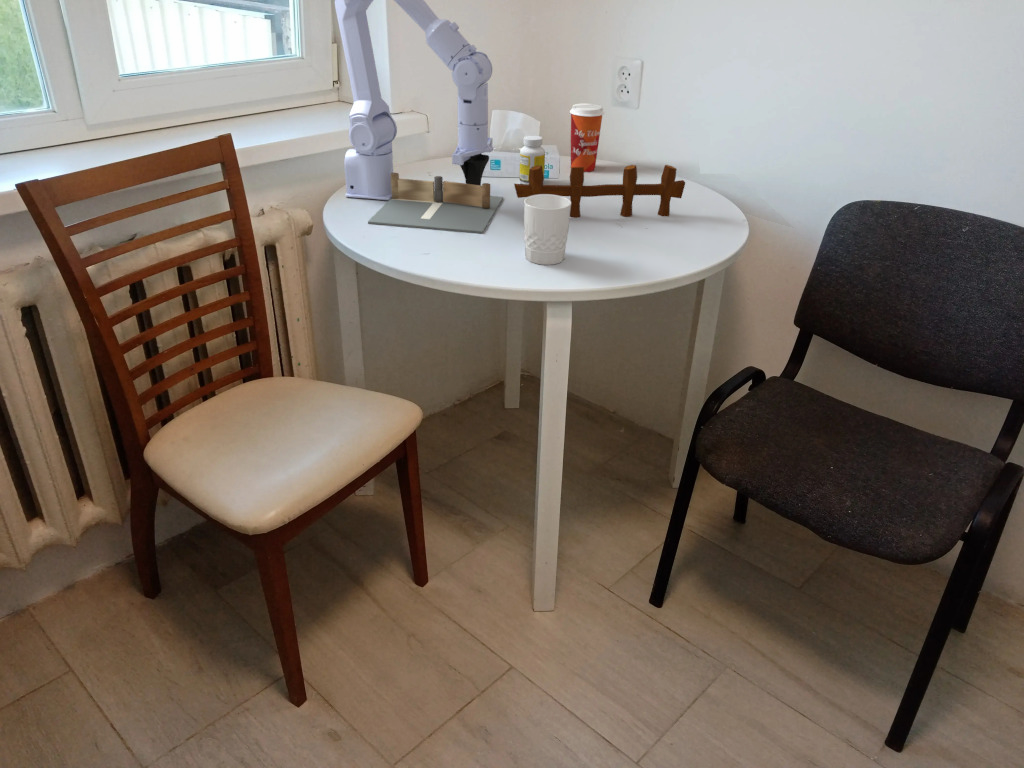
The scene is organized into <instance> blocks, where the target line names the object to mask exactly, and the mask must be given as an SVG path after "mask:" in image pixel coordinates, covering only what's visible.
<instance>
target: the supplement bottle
mask: <svg viewBox="0 0 1024 768" xmlns="http://www.w3.org/2000/svg"><path fill="white" fill-rule="evenodd" d="M523 144H524V145H523V146H522V147H521V148H520V150H519V151H520V152H519V184H528V185H529V169H530V168H531V167H534V166H537V165H539V166H542V169H543V176H544V177H545V167H546V166H545V163H546V160H545V159H546V151H545V148H544V147H542V145H543V137H542V136H539V135H525V136H524V137H523ZM544 182H545V179H544V180H543V184H544Z"/></svg>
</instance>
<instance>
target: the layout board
mask: <svg viewBox="0 0 1024 768" xmlns="http://www.w3.org/2000/svg"><path fill="white" fill-rule="evenodd" d="M434 195H435V190H434ZM503 199H504V196H497V195H490V208H487V209H485V208H482V207H479V206H472V205H464V204H457V203H449V202H442V203H436V202H435V201H434V202H430V201H418V200H405V199H392V198H391V199H390V200H387V202H385V204H384V205H382V207H381V208H379V210H378V211H376V212H375V214H373V216H371V218H369V219H368V220H367V224H369V225H370V224H372V225H379V226H380V225H382V226H391V227H392V226H393V227H404V228H414V229H415V228H416V229H424V230H425V229H427V230H439V231H449V232H459V233H471V234H472V233H473V234H481V235H482V234H483V233H484V232H485V231H486V228H487V227H488V226H489V223H490V222H491V220H492V219H493V217H494V215H495V213H496V212H497V209H498V208H499V206H500V205H501V203H502V202H503Z"/></svg>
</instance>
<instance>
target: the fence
mask: <svg viewBox="0 0 1024 768" xmlns="http://www.w3.org/2000/svg"><path fill="white" fill-rule="evenodd" d="M637 168H638V167H637V165H635V164H630V165H627V166H625V167H624V169H623V173H622V183H621V184H620V183H616V184H611V183H610V184H608V183H607V184H595V185H584V182H585V172H584V167H571V166H570V174H569V184H564V185H563V184H544V183H543V180H544V181H545V175H544V176H543V169H542V166H539V165H537V166H534V167H531V168H530V169H529V185H528V184H521V183H513V185H514V189H515V193H516V197H517V198H518V199H520V198H521V199H522V198H527V197H529V196H532V195H539V194H551V195H558V196H562V197H569V198H570V199H569V200H570V201H571V210H570V218H574V219H577V218H580V217H581V200H582V199H581V198H583V197H584V198H585V197H587V198H588V197H589V198H591V197H592V198H593V197H604V196H609V197H610V196H622V203H621V204H622V205H621V208H620V216H621V217H623V218H631V217H632V216H633V200H634V196H660V201H659V202H660V203H659V208H658V210H657V211H658V212H657V216H660V217H669V216H670V214H671V213H670V212H671V209H670V208H671V200H672V199H671V198H676V199H682V197H683V193H684V189H685V185H686V181H684V180H683V179H682V180H676V178H677V177H676V176H677V168H676V167H674V166H673V165H669V164H665V165H664V167H663V171H662V174H661V177H660V183H638V182H637V181H638V169H637Z"/></svg>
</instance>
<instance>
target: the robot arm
mask: <svg viewBox="0 0 1024 768" xmlns="http://www.w3.org/2000/svg"><path fill="white" fill-rule="evenodd" d="M373 2H374V0H334V8H335V13H336V18H337V22H338V28H339V33H340V38H341V43H342V48H343V53H344V58H345V62H346V68H347V73H348V79H349V84H350V89H351V94H352V99H353V104H352V107H351V109H350V112H349V116H348V117H349V128H348V129H349V130H348V139H349V142H350V144H351V146H352V147H353V148H349V149H347V151H346V153H345V156H344V161H343V162H344V164H343V165H344V166H343V167H344V178H345V191H346V193H345V197H346V198H358V199H368V200H369V199H371V200H380V201H381V200H382V201H389V200H390V199H391V198H392V190H391V173H394V157H393V156H394V155H393V142H394V140H395V139H396V136H397V133H398V126H397V123H396V120H395V119H394V118H393V116H392V113H391V112H390V106H389V104H388V103H387V102H386V101H385V100H384V99H383V97H382V94H381V87H380V82H379V77H378V72H377V66H376V61H375V56H374V55H375V54H374V49H373V45H372V39H371V34H370V33H371V31H370V28H369V27H370V26H369V21H368V17H367V10H368V9H369V7H370V6H371V4H372V3H373ZM393 2H395V4H397V5H398V6H399V7H400V8H401V9H402V10H403V11H404V12H405V13H406V15H408V16H409V17H410V19H412V20H413V22H414V23H416V24H417V25H418V26H419V27H420V29H422V30H423V31H424V32H425V43H426V45H427V46H428V47H429V48H430V49H431V50H432V51H433V53H435V55H437V57H438V58H439V59H440V60H441V61H442V62H443V64H444V65H445V66H446V67H447V68H448V69H449V70H450V71H452V72H451V77H452V78H451V79H452V80H453V82H454V84H455V86H456V87H457V146H456V147H455V150H454V152H453V153H452V154H451V163H452V165H455V166H459V167H460V169H461V170H462V173H463V175H464V179H465V184H473V185H481V186H482V177H483V176H484V175H483V174H484V172H485V169H486V166H487V164H488V163H489V160H490V156H489V154H488V155H487V154H484V153H491V152H493V151H494V146H493V137H489V89H488V88H489V84H488V81H489V80H490V79H491V77H492V76H493V65H492V62H491V60H490V59H489V56H488V55H487V54H486V53H485V52H483V51H478V50H477V47H476V46H475V45H474V44H472V45H471V43H470V42H469V41H468V40H467V39H466V38H465V37H464V36H463V35H462V33H461V32H460V31H459V28H460V26H459V25H458V24H457V23H456V22H451V21H450V20H449V19H440V18H439V17H438V16H437V15H436V14H435V12H434V11H433V10H432V8H431V7H430V6H429V5H428V4H427V2H426V1H425V0H393Z"/></svg>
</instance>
